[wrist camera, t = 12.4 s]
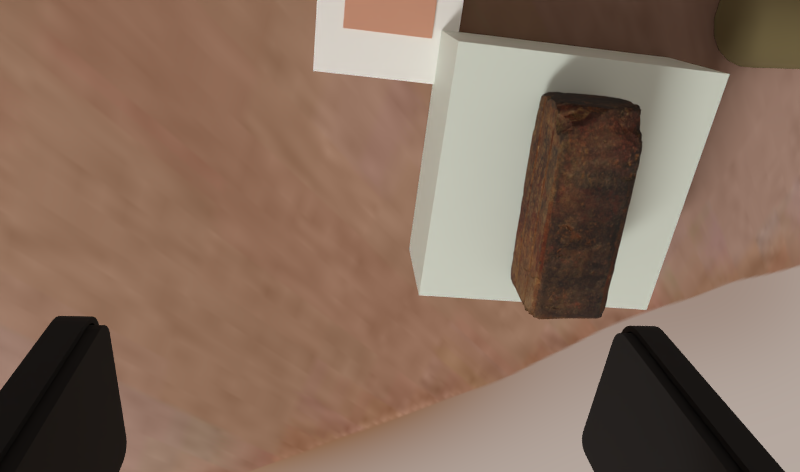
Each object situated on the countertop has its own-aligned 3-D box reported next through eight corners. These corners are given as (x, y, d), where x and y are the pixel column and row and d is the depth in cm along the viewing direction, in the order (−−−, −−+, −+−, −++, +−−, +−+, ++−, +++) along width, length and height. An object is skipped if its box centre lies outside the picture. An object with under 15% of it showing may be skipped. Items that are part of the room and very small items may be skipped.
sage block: (440, 29, 32) (458, 41, 27) (669, 57, 34) (729, 74, 29) (409, 248, 38) (419, 295, 33) (606, 263, 40) (646, 309, 34)
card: (322, -89, 29) (322, -90, 29) (472, -67, 30) (474, -68, 30) (313, 69, 33) (313, 71, 32) (449, 84, 34) (450, 86, 33)
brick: (573, 277, 33) (606, 322, 29) (506, 276, 33) (530, 322, 28) (612, 91, 28) (658, 112, 24) (535, 88, 28) (569, 108, 24)
